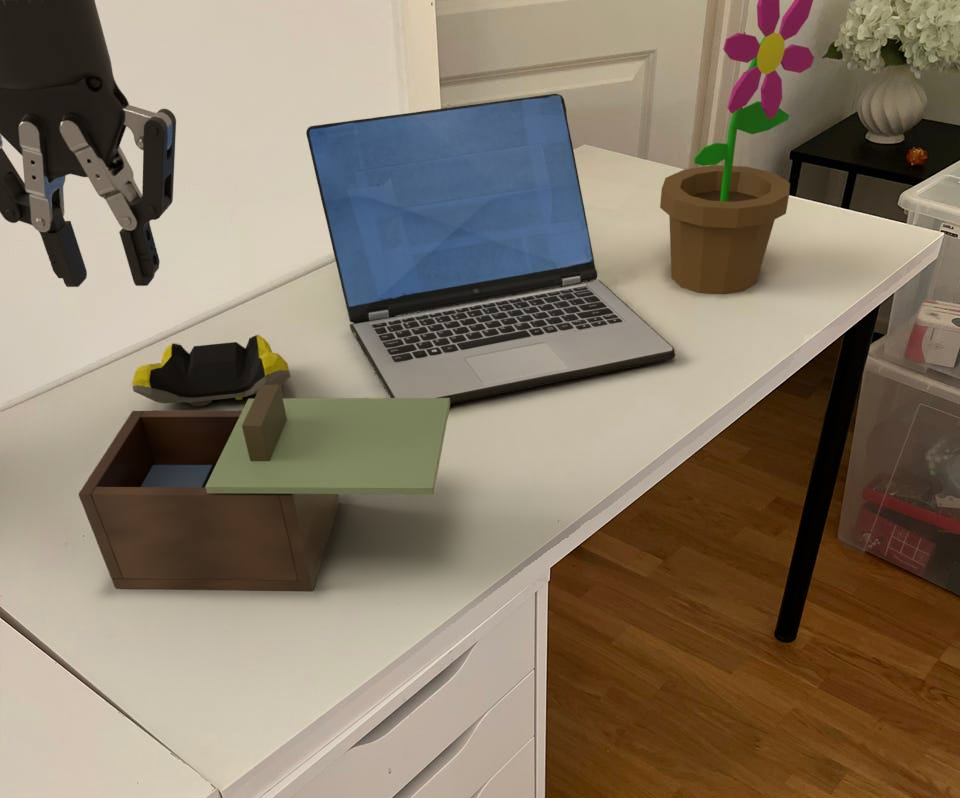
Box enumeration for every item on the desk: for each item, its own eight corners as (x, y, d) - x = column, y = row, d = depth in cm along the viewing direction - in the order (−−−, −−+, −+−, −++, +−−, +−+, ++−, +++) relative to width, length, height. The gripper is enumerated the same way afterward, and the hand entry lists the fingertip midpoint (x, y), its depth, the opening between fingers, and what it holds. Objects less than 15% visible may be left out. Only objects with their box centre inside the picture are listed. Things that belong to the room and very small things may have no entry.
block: (150, 551, 78) (132, 499, 75) (168, 514, 82) (152, 464, 79) (210, 551, 78) (195, 500, 75) (226, 515, 82) (212, 464, 78)
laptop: (399, 421, 94) (377, 226, 81) (328, 295, 116) (302, 126, 103) (678, 362, 100) (697, 172, 87) (559, 253, 122) (562, 89, 110)
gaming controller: (294, 412, 96) (295, 365, 103) (284, 361, 92) (285, 316, 99) (141, 429, 95) (152, 380, 102) (124, 377, 91) (137, 331, 98)
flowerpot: (707, 312, 108) (746, -5, 88) (629, 270, 117) (648, -26, 97) (802, 281, 113) (860, -26, 93) (720, 243, 122) (757, -44, 102)
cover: (206, 493, 69) (194, 450, 67) (249, 404, 78) (240, 363, 76) (433, 494, 68) (429, 450, 66) (450, 404, 77) (447, 362, 75)
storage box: (114, 588, 77) (77, 494, 70) (161, 501, 85) (132, 410, 79) (312, 591, 75) (292, 495, 69) (339, 502, 84) (324, 409, 78)
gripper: (163, -37, 56) (228, 258, 68) (-71, -27, 57) (33, 261, 69) (118, -12, 51) (197, 304, 62) (-139, -2, 52) (-14, 307, 63)
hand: (110, 280), depth 65 cm, fingers open, 4 cm apart
